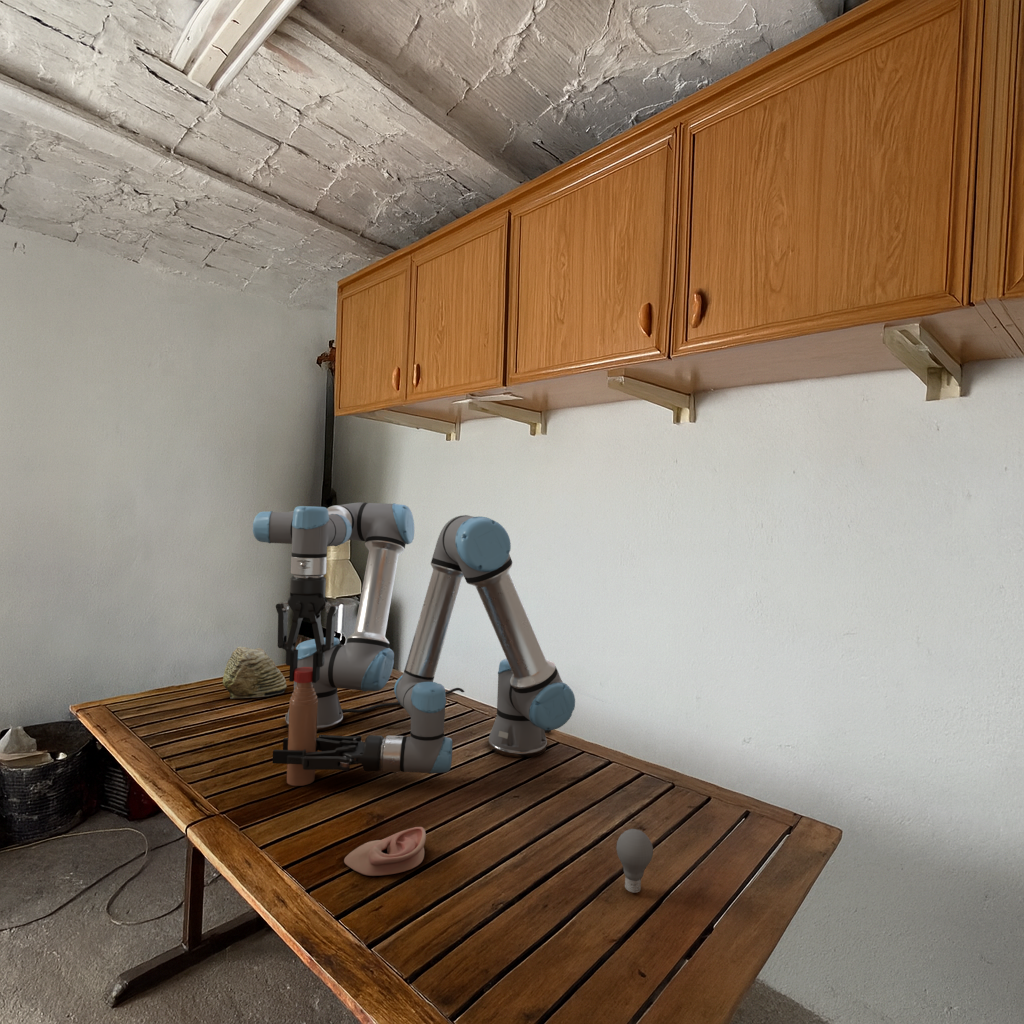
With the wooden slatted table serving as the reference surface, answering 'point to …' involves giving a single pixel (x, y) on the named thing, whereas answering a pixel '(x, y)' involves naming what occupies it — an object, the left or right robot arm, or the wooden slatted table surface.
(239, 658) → the fossil
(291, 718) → the bottle
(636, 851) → the light bulb
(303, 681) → the cap
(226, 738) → the wooden slatted table surface
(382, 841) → the anatomical model
